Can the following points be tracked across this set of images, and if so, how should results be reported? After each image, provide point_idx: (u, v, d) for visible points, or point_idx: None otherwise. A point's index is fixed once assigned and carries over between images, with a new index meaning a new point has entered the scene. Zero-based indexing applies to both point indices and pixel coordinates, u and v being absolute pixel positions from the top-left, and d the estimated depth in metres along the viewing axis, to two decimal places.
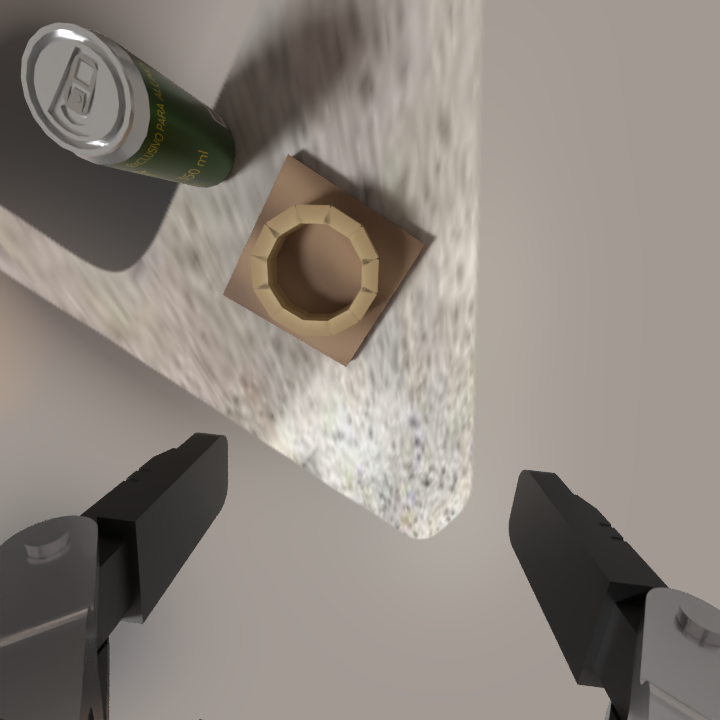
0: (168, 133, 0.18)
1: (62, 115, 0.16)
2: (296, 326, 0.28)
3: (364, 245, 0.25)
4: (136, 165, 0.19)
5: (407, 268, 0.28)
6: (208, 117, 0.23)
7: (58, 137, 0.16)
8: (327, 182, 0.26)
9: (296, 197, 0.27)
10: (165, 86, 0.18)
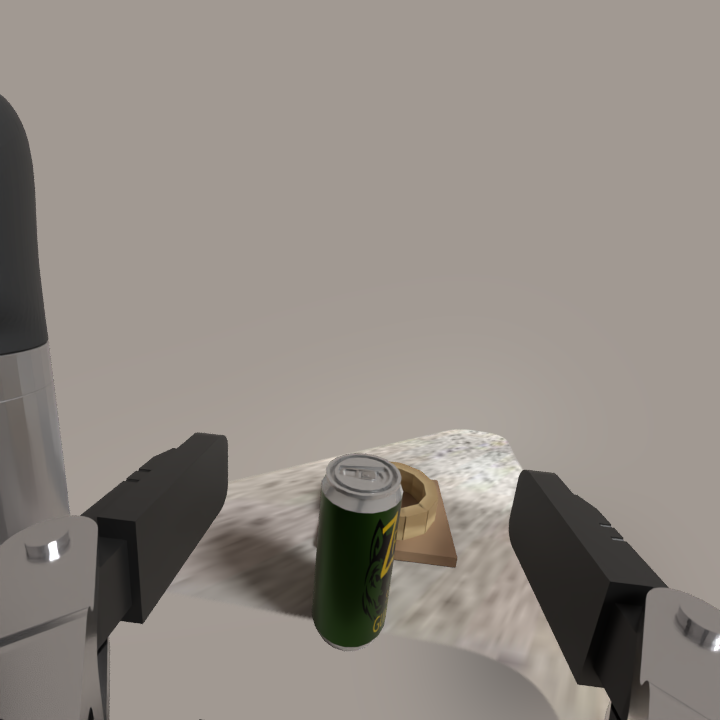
0: None
1: (382, 482, 0.23)
2: (431, 486, 0.37)
3: None
4: None
5: None
6: None
7: (397, 480, 0.23)
8: None
9: None
10: None
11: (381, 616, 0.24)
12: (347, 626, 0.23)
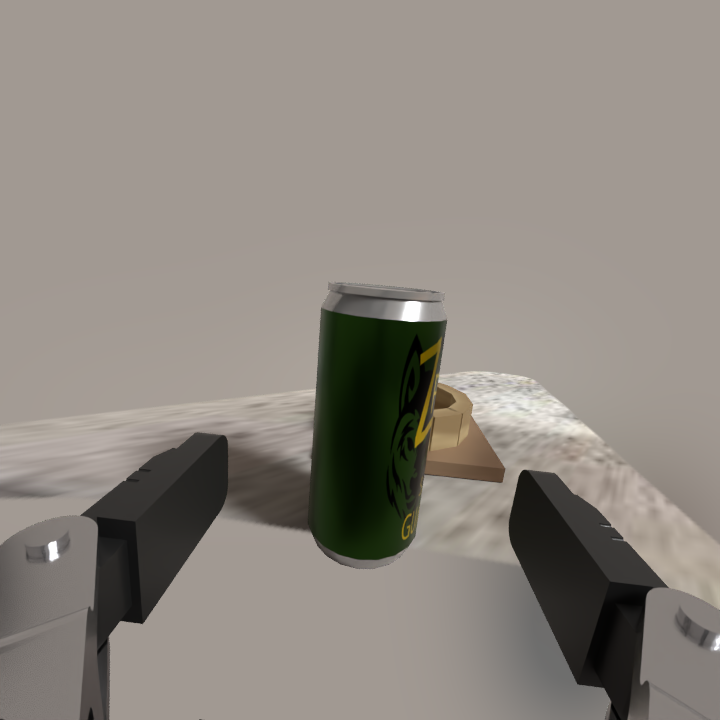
0: None
1: None
2: (461, 395, 0.29)
3: None
4: None
5: None
6: None
7: None
8: None
9: None
10: None
11: (413, 516, 0.16)
12: (362, 524, 0.15)
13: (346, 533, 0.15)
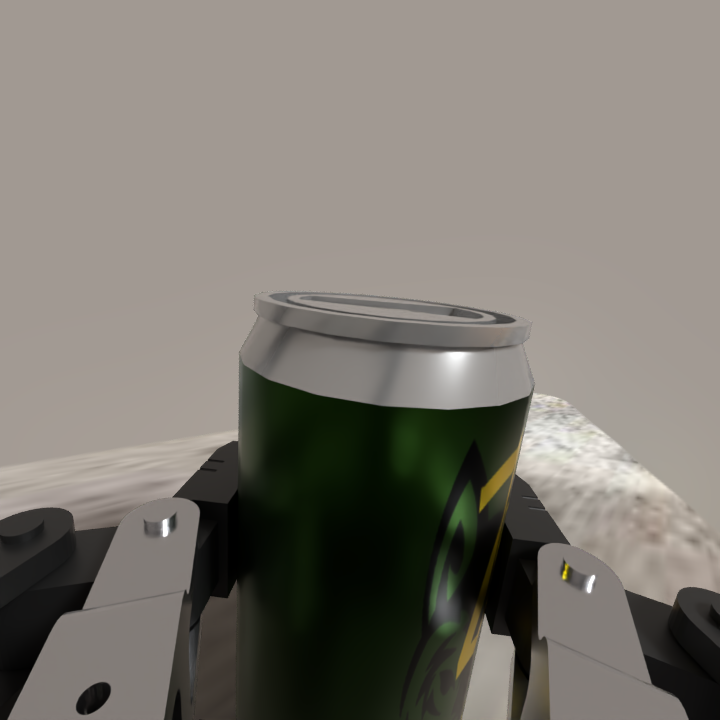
0: None
1: None
2: None
3: None
4: None
5: None
6: None
7: (512, 322, 0.06)
8: None
9: None
10: None
11: None
12: None
13: None
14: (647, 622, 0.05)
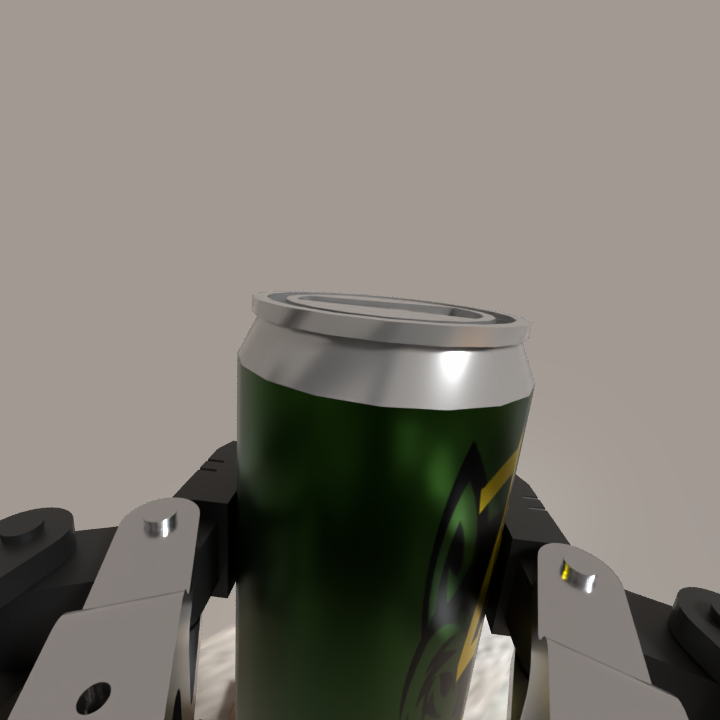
0: None
1: None
2: None
3: None
4: None
5: None
6: None
7: (512, 322, 0.06)
8: None
9: None
10: None
11: None
12: None
13: None
14: (647, 622, 0.05)
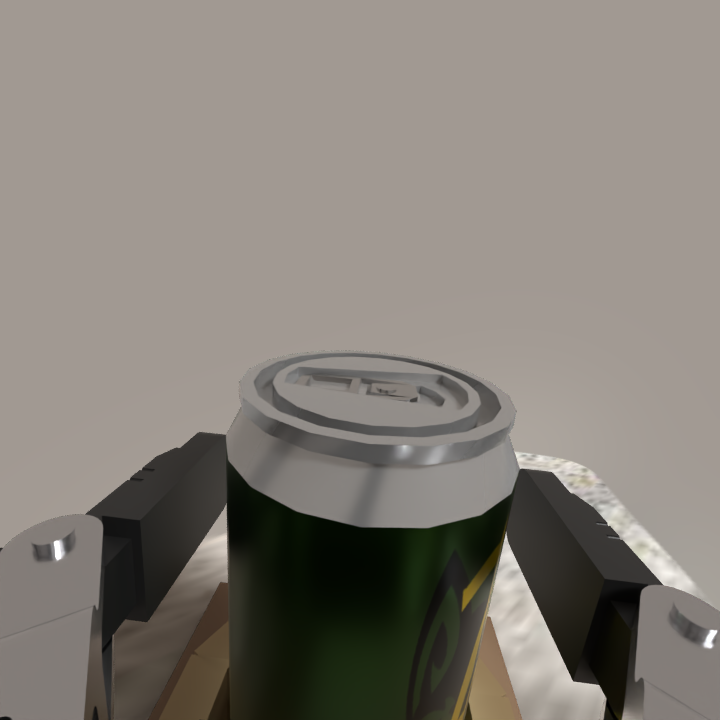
0: None
1: None
2: (497, 715, 0.10)
3: None
4: None
5: None
6: None
7: (497, 404, 0.06)
8: None
9: None
10: None
11: None
12: None
13: None
14: None
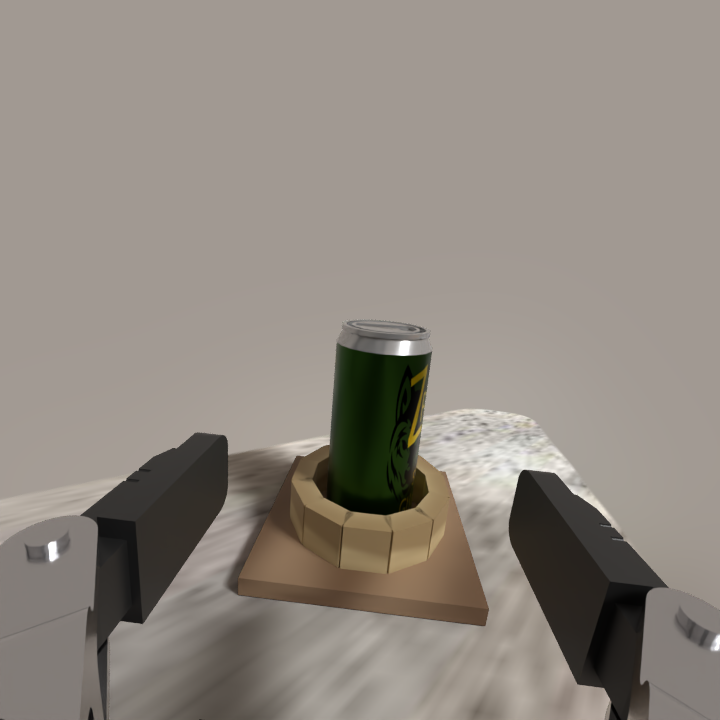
0: None
1: None
2: (436, 478, 0.23)
3: (318, 454, 0.24)
4: None
5: None
6: None
7: (425, 332, 0.19)
8: (263, 529, 0.20)
9: (293, 554, 0.19)
10: None
11: (407, 500, 0.21)
12: (369, 505, 0.19)
13: None
14: None
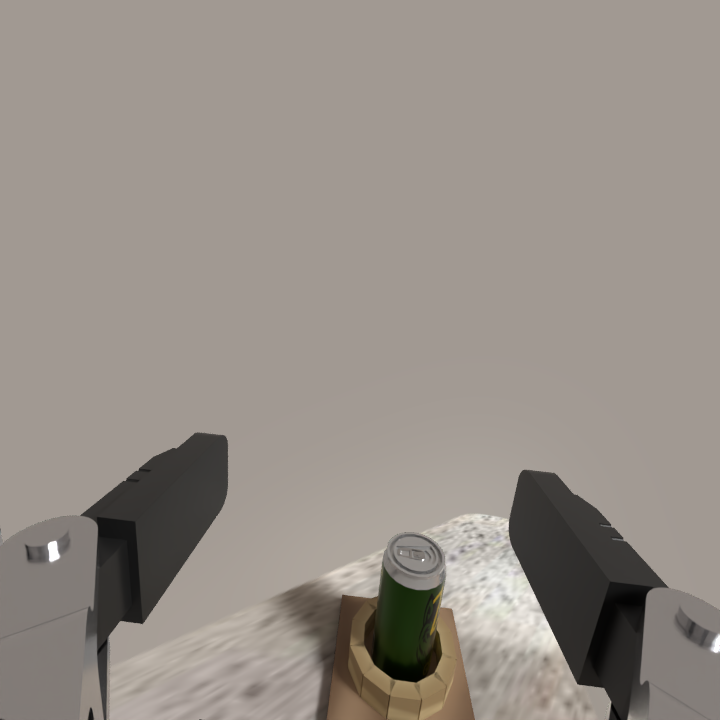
0: None
1: (431, 561, 0.30)
2: (447, 636, 0.33)
3: (363, 612, 0.35)
4: None
5: (362, 598, 0.39)
6: None
7: (442, 560, 0.30)
8: (332, 682, 0.31)
9: (356, 706, 0.29)
10: None
11: (428, 662, 0.31)
12: (404, 672, 0.30)
13: (395, 675, 0.30)
14: None
